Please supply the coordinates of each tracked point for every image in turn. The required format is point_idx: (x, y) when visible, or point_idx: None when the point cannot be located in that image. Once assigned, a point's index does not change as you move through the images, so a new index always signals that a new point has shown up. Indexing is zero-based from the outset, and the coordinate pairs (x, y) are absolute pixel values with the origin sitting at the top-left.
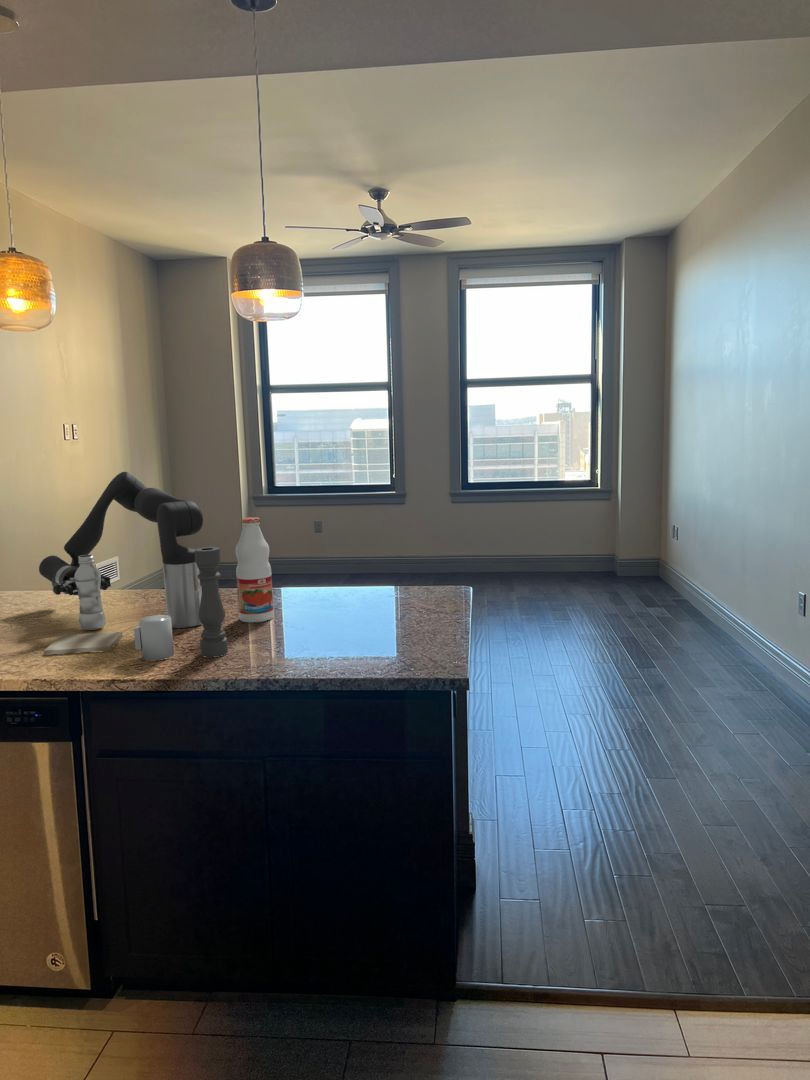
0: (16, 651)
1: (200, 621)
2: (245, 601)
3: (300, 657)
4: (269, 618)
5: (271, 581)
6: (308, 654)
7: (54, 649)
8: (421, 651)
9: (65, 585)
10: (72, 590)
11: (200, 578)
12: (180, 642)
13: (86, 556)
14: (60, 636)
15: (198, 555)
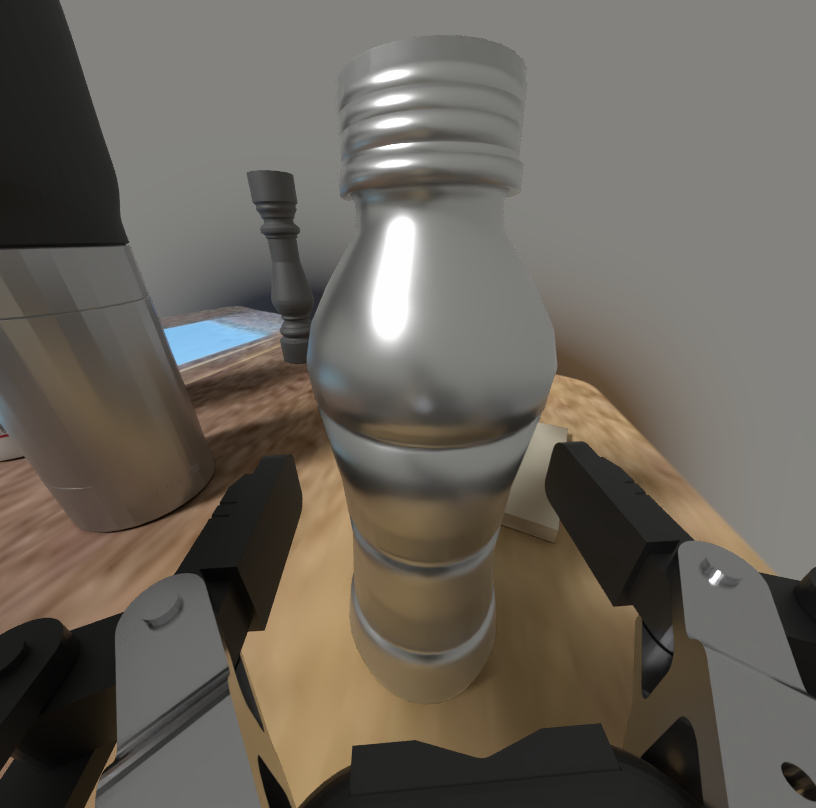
0: (682, 501)
1: (311, 306)
2: None
3: (256, 333)
4: None
5: None
6: (243, 334)
7: (541, 424)
8: (185, 320)
9: (692, 546)
10: (553, 459)
11: (299, 230)
12: (297, 395)
13: (406, 79)
14: (557, 517)
15: (294, 185)
